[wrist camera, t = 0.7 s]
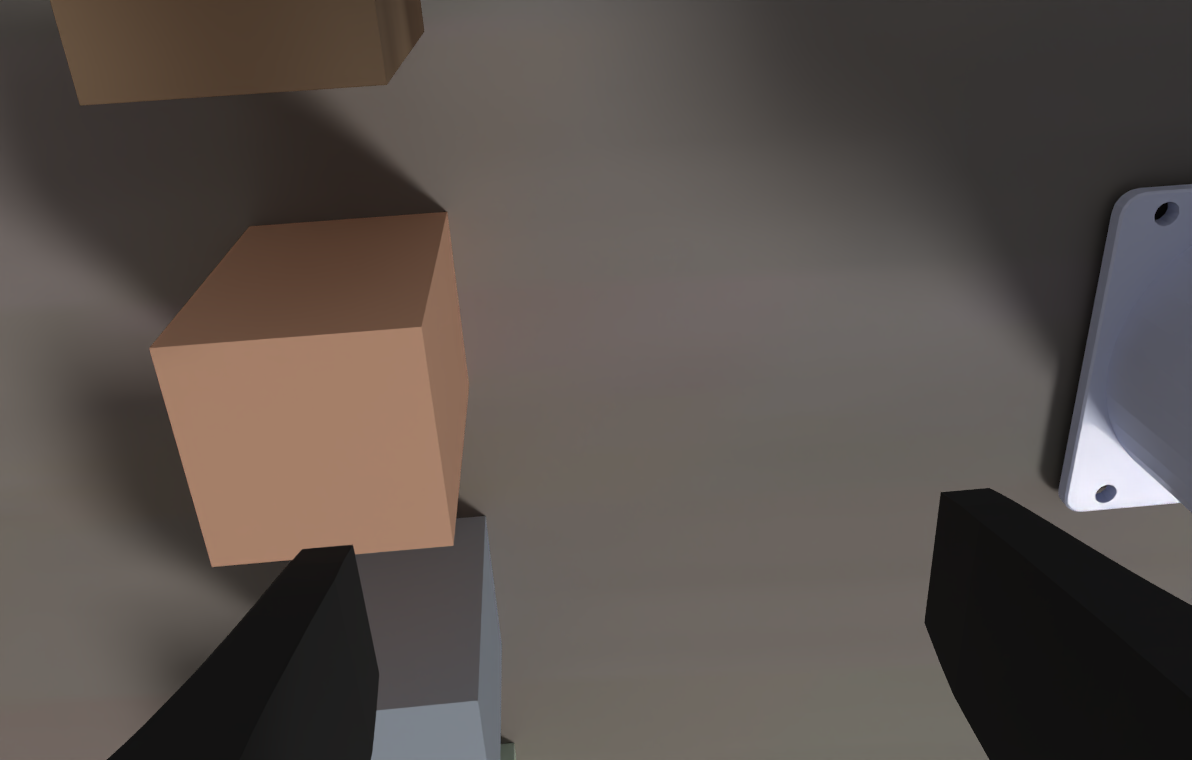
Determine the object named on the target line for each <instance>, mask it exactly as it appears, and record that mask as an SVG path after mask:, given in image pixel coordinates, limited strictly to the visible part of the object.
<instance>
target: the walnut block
mask: <svg viewBox="0 0 1192 760" xmlns="http://www.w3.org/2000/svg"><path fill="white" fill-rule="evenodd" d="M50 2H51V6H52V9H53V13H54V16H55V20H56V23H57V27H58V30H59V34H60V37H61V41H62V44H63V48H64V51H65V55H66V58H67V62H68V65H69V69H70V72H71V76H72V79H73V83H74V86H75V90H76V93H77V97H78V100H79V104H80V106H81V105H95V104H110V103H125V102H140V101H155V100H169V99H184V98H199V97H214V96H229V95H243V94H258V93H273V92H288V91H303V90H317V89H332V88H347V87H362V86H377V85H387V84H388V82H389V81H390V80H391V78H392V77H393V75H394V74H395V72H396V71H397V70H398V68H399V67H400V65H401V64H402V62H403V61H404V60H405V58H406V57H407V55H408V54H409V52H410V51H411V50H412V48H413V47H414V45H415V44H416V42H417V41H418V40H419V38H420V37H421V35H422V34H423V33H424V25H423V17H422V9H421V2H420V0H50Z"/></svg>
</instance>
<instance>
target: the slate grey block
mask: <svg viewBox="0 0 1192 760" xmlns="http://www.w3.org/2000/svg"><path fill="white" fill-rule="evenodd" d="M355 557H356V562H357V567H358V571H359V576H360V581H361V586H362V591H363V596H364V601H365V606H366V611H367V616H368V621H369V625H370V630H371V635H372V640H373V645H374V650H375V655H376V660H377V665H378V670H379V686H378V698H377V710H376V721H375V731H374V741H373V751H372V757H371V760H500V750H501V664H502V643H501V635H500V627H499V619H498V611H497V603H496V595H495V587H494V579H493V571H492V564H491V556H490V548H489V540H488V532H487V524H486V516H478V517H467V518H456V525H455V535H454V546H445V547H433V548H422V549H411V550H399V551H388V552H377V553H365V554H355Z"/></svg>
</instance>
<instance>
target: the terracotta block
mask: <svg viewBox="0 0 1192 760" xmlns="http://www.w3.org/2000/svg"><path fill="white" fill-rule="evenodd" d="M149 349H150V353H151V356H152V360H153V363H154V367H155V370H156V374H157V377H158V381H159V384H160V388H161V391H162V395H163V398H164V402H165V405H166V409H167V412H168V415H169V419H170V422H171V426H172V429H173V433H174V436H175V440H176V443H177V447H178V450H179V454H180V457H181V461H182V464H183V468H184V471H185V475H186V478H187V482H188V485H189V489H190V492H191V496H192V499H193V503H194V506H195V510H196V513H197V517H198V520H199V524H200V527H201V531H202V534H203V537H204V541H205V544H206V548H207V551H208V555H209V558H210V562H211V565H212V567H217V566H229V565H240V564H251V563H263V562H274V561H286V560H293V559H294V558H295V556H296V555H297V554H298V553H299V552H300V551H301V550H302V549H309V548H320V547H331V546H342V545H353V547H354V552H355V554H365V553H377V552H388V551H399V550H411V549H422V548H433V547H445V546H454V535H455V525H456V515H457V505H458V494H459V484H460V474H461V463H462V453H463V443H464V432H465V422H466V412H467V402H468V391H469V381H468V374H467V366H466V358H465V350H464V342H463V334H462V326H461V318H460V310H459V302H458V294H457V286H456V278H455V270H454V263H453V255H452V247H451V239H450V231H449V223H448V215H447V212H437V213H423V214H410V215H396V216H383V217H369V218H355V219H342V220H328V221H315V222H301V223H287V224H274V225H260V226H249V227H248V229H247V230H246V231H245V232H244V233H243V235H242V236H241V237H240V238H239V240H238V241H237V242H236V243H235V244H234V246H233V247H232V248H231V249H230V250H229V252H228V253H227V254H226V255H225V257H224V258H223V259H222V260H221V261H220V263H219V264H218V265H217V266H216V268H215V269H214V270H213V271H212V272H211V274H210V275H209V276H208V277H207V278H206V280H205V281H204V282H203V283H202V285H201V286H200V287H199V288H198V289H197V291H196V292H195V293H194V294H193V295H192V297H191V298H190V299H189V300H188V302H187V303H186V304H185V305H184V306H183V308H182V309H181V310H180V311H179V313H178V314H177V315H176V316H175V317H174V319H173V320H172V321H171V322H170V323H169V325H168V326H167V327H166V328H165V330H164V331H163V332H162V333H161V334H160V336H159V337H158V338H157V339H156V341H155V342H154V343H153V344H152V345H151V347H150V348H149Z"/></svg>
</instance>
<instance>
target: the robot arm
mask: <svg viewBox="0 0 1192 760" xmlns="http://www.w3.org/2000/svg"><path fill="white" fill-rule="evenodd" d="M1167 202H1168V209H1167V211H1166V213H1165V214H1164V215H1163V216H1162V217H1161V218H1160V219H1157V220H1155V213H1156V211H1157V209H1158V208H1159V207H1160V206H1161V205H1162V204H1164V203H1167ZM1105 485H1107V486H1106V488H1105V489H1104V490H1103V491H1102V492H1101V493H1098V494H1096V492H1097V490H1098V489H1100V488H1101V487H1102V486H1105ZM1059 497H1060V499H1061V500H1062V502H1063V503H1064V504H1065V505H1066V506H1067V507H1068V508H1069V509H1071V510H1073V511H1078V512H1084V511H1095V510H1106V509H1117V508H1128V507H1139V506H1151V505H1162V504H1173V503H1182V504H1183V505H1184V506H1185V507H1186V508H1187V509H1188V510H1189V511H1191V512H1192V184H1185V185H1172V186H1158V187H1145V188H1137V189H1133V190H1130V191H1128V192H1127V193H1125V194H1124V195H1122V196H1121V197H1120V198H1119V199H1118V201H1117V202H1116V203H1115V205H1114V207H1113V210H1112V213H1111V218H1110V223H1109V228H1108V233H1107V239H1106V244H1105V249H1104V254H1103V260H1102V265H1101V270H1100V275H1099V281H1098V286H1097V291H1096V296H1095V301H1094V307H1093V312H1092V317H1091V322H1090V328H1089V333H1088V338H1087V343H1086V348H1085V354H1084V359H1083V364H1082V369H1081V375H1080V380H1079V385H1078V390H1077V396H1076V401H1075V406H1074V411H1073V416H1072V422H1071V427H1070V432H1069V437H1068V443H1067V448H1066V453H1065V458H1064V464H1063V469H1062V474H1061V479H1060V484H1059ZM924 623H925V625H926V628H927V630H928V633H929V636H930V638H931V641H932V643H933V646H934V649H935V651H936V654H937V656H938V659H939V662H940V664H941V666H942V669H943V671H944V674H945V676H946V678H947V681H948V683H949V685H950V688H951V690H952V693H953V695H954V697H955V699H956V700H957V702H958V704H959V706H960V708H961V710H962V712H963V713H964V715H965V717H966V719H967V721H968V722H969V724H970V726H971V728H972V729H973V731H974V733H975V735H976V737H977V738H978V740H979V742H980V744H981V745H982V747H983V749H984V751H985V753H986V754H987V756H988V758H989V760H1192V605H1190V604H1188V603H1186V602H1184V601H1183V600H1181V599H1179V598H1177V597H1175V596H1174V595H1172V594H1170V593H1168V592H1166V591H1165V590H1163V589H1161V588H1159V587H1157V586H1156V585H1154V584H1152V583H1150V582H1149V581H1147V580H1145V579H1143V578H1142V577H1140V576H1138V575H1137V574H1135V573H1133V572H1131V571H1130V570H1128V569H1126V568H1125V567H1123V566H1121V565H1119V564H1118V563H1116V562H1114V561H1113V560H1111V559H1109V558H1108V557H1106V556H1104V555H1103V554H1101V553H1099V552H1098V551H1096V550H1094V549H1093V548H1091V547H1089V546H1088V545H1086V544H1084V543H1083V542H1081V541H1079V540H1078V539H1076V538H1074V537H1073V536H1071V535H1070V534H1068V533H1066V532H1065V531H1063V530H1061V529H1060V528H1058V527H1056V526H1055V525H1053V524H1051V523H1050V522H1048V521H1046V520H1045V519H1043V518H1041V517H1040V516H1038V515H1036V514H1035V513H1033V512H1031V511H1030V510H1028V509H1026V508H1025V507H1023V506H1021V505H1020V504H1018V503H1016V502H1014V501H1013V500H1011V499H1009V498H1007V497H1006V496H1004V495H1002V494H1000V493H998V492H996V491H994V490H992V489H990V488H985V489H974V490H962V491H951V492H941V496H940V504H939V512H938V519H937V527H936V535H935V543H934V551H933V559H932V567H931V575H930V583H929V591H928V599H927V607H926V614H925V622H924ZM378 686H379V670H378V665H377V660H376V655H375V650H374V645H373V640H372V635H371V630H370V625H369V621H368V616H367V611H366V606H365V601H364V596H363V591H362V586H361V581H360V576H359V571H358V567H357V562H356V557H355V552H354V547H353V545H342V546H331V547H320V548H309V549H302V550H301V551H300V552H299V553H298V554H297V555H296V556H295V558H294V559H293V560H292V561H291V562H290V563H289V564H288V566H287V567H286V568H285V569H284V570H283V571H282V572H281V574H280V575H279V576H278V577H277V578H276V580H275V581H274V582H273V583H272V584H271V586H270V587H269V588H268V589H267V590H266V591H265V593H264V594H263V595H262V596H261V597H260V599H259V600H258V601H257V602H256V603H255V605H254V606H253V607H252V608H251V609H250V610H249V612H248V613H247V614H246V615H245V616H244V618H243V619H242V620H241V621H240V622H239V623H238V625H237V626H236V627H235V628H234V629H233V630H232V631H231V633H230V634H229V635H228V636H227V637H226V638H225V639H224V640H223V642H222V643H221V644H220V645H219V646H218V647H217V648H216V649H215V651H214V652H213V653H212V654H211V655H210V656H209V657H208V658H207V660H206V661H205V662H204V663H203V664H202V665H201V666H200V667H199V669H198V670H197V671H196V672H195V673H194V674H193V675H192V676H191V677H190V678H189V679H188V680H187V681H186V682H185V683H184V684H183V686H182V687H181V688H180V689H179V690H178V691H177V692H176V693H175V694H174V695H173V696H172V697H171V698H170V699H169V700H168V701H167V702H166V703H165V704H164V705H163V706H162V707H161V708H160V709H159V710H158V711H157V712H156V713H155V714H154V715H153V716H152V717H151V718H150V719H149V720H148V721H147V722H146V724H145V725H144V726H143V727H141V728H140V729H139V730H138V731H137V732H136V733H135V734H134V735H133V736H132V737H131V738H130V739H129V740H128V741H127V742H126V743H125V744H124V745H122V746H121V747H120V748H119V749H118V750H117V751H116V752H115V753H114V754H113V755H112V756H110V757H109V758H108V759H107V760H371V757H372V751H373V741H374V731H375V721H376V710H377V698H378Z"/></svg>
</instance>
